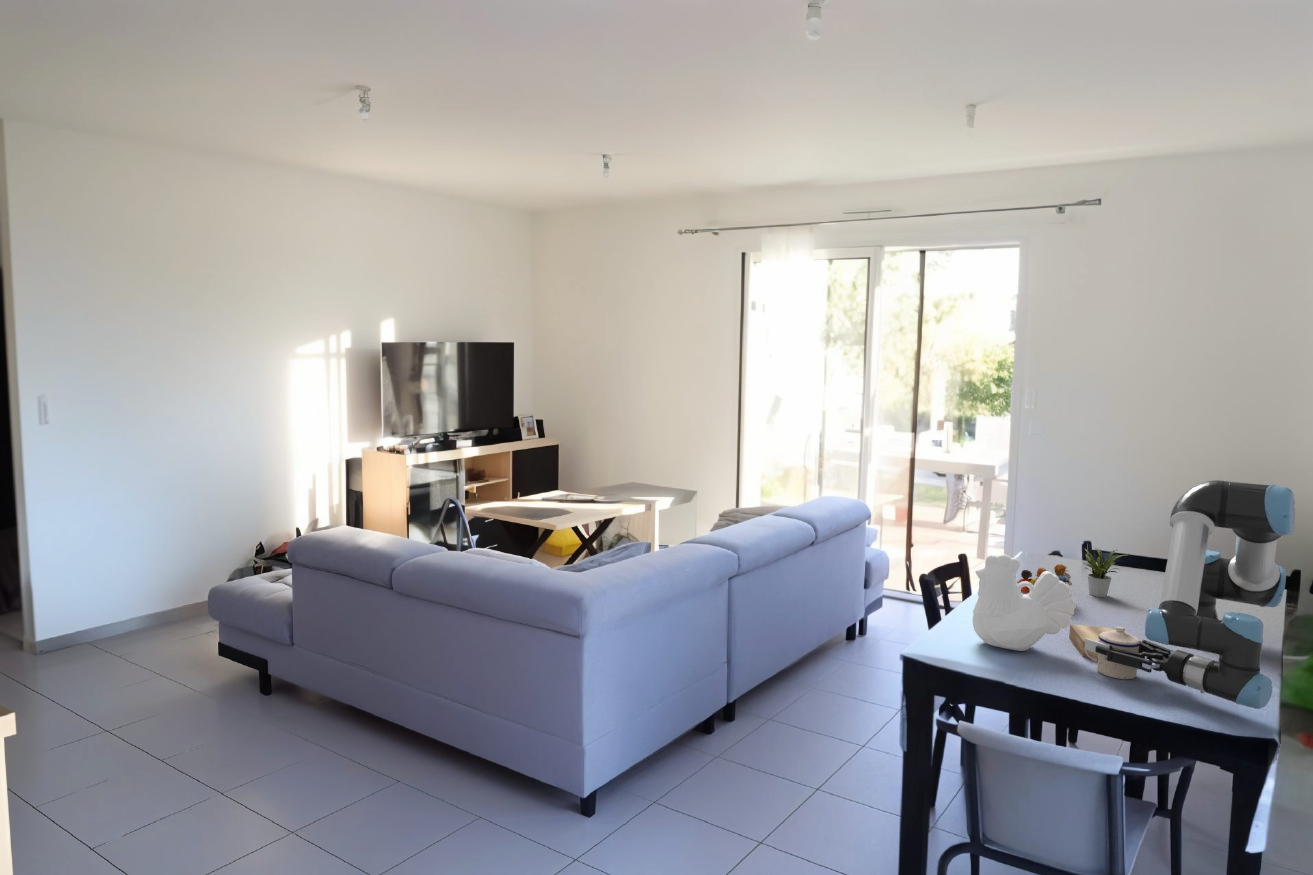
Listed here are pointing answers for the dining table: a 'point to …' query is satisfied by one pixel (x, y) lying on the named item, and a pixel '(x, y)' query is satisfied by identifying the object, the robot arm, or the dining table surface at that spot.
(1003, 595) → the decorative rooster
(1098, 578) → the house plant
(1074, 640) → the oak slab
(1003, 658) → the dining table surface
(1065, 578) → the doll family
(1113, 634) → the teacup with lid
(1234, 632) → the robot arm
